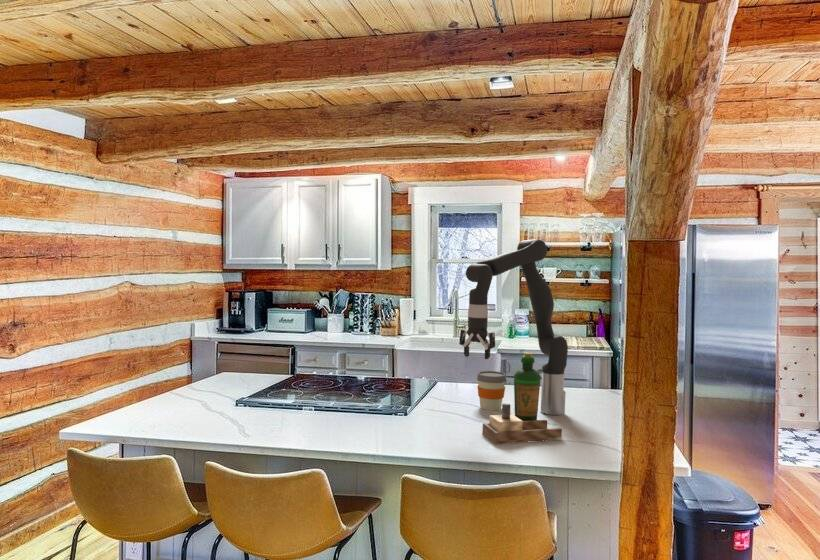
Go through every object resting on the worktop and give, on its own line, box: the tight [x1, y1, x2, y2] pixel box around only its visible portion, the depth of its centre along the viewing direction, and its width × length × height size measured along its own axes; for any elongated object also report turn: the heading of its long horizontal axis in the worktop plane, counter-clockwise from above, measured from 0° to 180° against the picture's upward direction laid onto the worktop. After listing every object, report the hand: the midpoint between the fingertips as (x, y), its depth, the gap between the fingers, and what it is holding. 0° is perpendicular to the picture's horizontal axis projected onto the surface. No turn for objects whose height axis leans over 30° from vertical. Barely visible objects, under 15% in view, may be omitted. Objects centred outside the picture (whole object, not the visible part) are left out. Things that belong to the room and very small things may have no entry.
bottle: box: [513, 351, 542, 421], centre depth 238 cm, size 11×11×28 cm
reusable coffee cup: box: [476, 370, 507, 412], centre depth 260 cm, size 13×13×15 cm
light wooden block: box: [488, 403, 523, 432], centre depth 218 cm, size 9×9×11 cm
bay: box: [482, 419, 563, 445], centre depth 220 cm, size 26×12×4 cm, turn 105°
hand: (476, 357), depth 231 cm, fingers open, 8 cm apart
